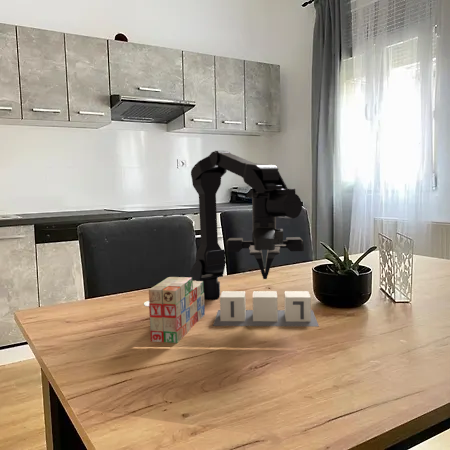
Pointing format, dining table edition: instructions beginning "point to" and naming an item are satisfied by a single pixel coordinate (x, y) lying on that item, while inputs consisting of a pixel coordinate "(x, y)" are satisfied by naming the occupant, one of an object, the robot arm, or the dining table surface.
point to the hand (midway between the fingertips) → (264, 278)
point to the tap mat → (250, 321)
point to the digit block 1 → (232, 306)
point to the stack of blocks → (175, 308)
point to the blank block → (265, 306)
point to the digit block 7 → (297, 306)
